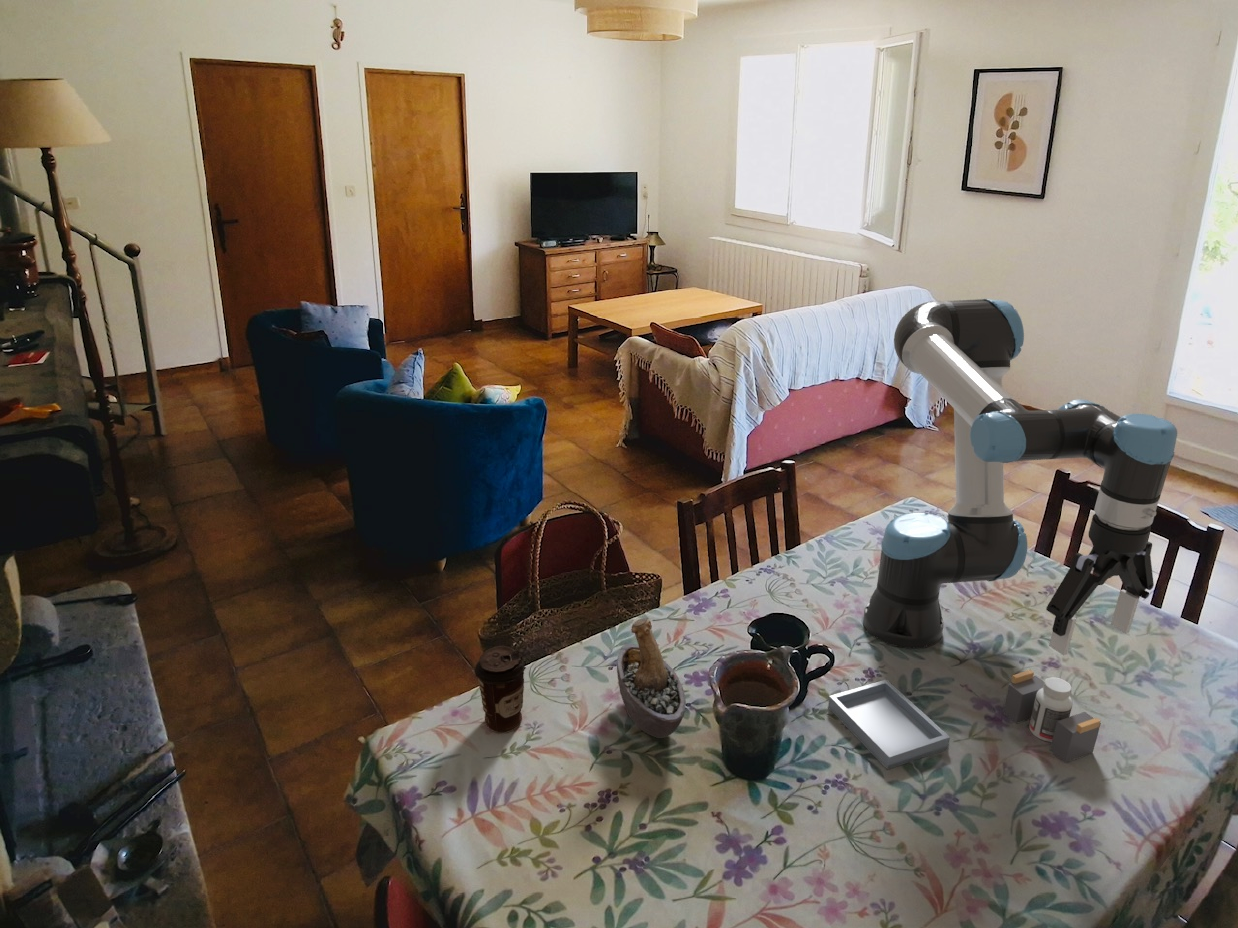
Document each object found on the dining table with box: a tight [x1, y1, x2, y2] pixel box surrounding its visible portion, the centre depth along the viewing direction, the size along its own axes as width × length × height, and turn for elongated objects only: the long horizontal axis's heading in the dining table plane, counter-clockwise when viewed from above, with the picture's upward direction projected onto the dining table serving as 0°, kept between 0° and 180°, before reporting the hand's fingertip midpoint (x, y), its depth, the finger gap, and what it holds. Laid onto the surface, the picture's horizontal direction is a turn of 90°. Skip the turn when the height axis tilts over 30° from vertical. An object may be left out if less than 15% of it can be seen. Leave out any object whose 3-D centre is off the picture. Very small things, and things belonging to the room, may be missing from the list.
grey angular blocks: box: [1002, 669, 1102, 764], centre depth 139 cm, size 14×6×7 cm, turn 22°
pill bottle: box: [1028, 676, 1073, 743], centre depth 139 cm, size 5×5×10 cm
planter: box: [616, 618, 687, 739], centre depth 140 cm, size 15×17×20 cm
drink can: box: [474, 645, 527, 734], centre depth 141 cm, size 9×8×13 cm
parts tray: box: [827, 678, 951, 771], centre depth 141 cm, size 16×12×2 cm
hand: (1089, 639), depth 132 cm, fingers open, 13 cm apart
